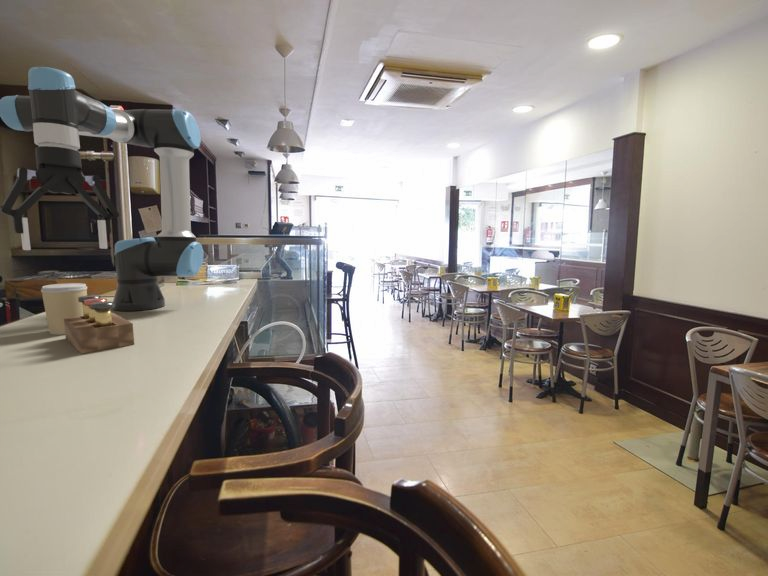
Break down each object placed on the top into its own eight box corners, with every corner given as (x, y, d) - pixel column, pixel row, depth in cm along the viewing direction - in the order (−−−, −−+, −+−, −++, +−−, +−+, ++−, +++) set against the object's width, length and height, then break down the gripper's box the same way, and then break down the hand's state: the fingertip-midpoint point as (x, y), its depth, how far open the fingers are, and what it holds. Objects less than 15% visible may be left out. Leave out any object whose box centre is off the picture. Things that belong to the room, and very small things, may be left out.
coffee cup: (99, 327, 109) (95, 283, 107) (69, 336, 99) (64, 288, 98) (68, 326, 109) (63, 282, 108) (35, 334, 100) (30, 287, 99)
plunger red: (106, 323, 98) (104, 297, 97) (111, 327, 95) (109, 299, 94) (84, 326, 95) (81, 299, 94) (88, 330, 92) (86, 302, 91)
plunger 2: (113, 328, 94) (110, 300, 93) (118, 331, 91) (116, 303, 90) (90, 331, 90) (87, 303, 90) (95, 335, 88) (92, 305, 87)
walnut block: (114, 331, 104) (112, 312, 104) (134, 344, 93) (132, 323, 92) (65, 338, 97) (63, 318, 97) (81, 353, 86) (79, 330, 85)
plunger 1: (100, 320, 102) (97, 294, 101) (104, 322, 99) (102, 296, 98) (78, 322, 99) (76, 296, 98) (82, 325, 96) (80, 298, 95)
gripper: (118, 159, 97) (124, 247, 100) (-29, 139, 77) (-16, 250, 80) (130, 156, 92) (137, 248, 95) (-22, 134, 73) (-8, 251, 76)
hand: (67, 249), depth 88 cm, fingers open, 13 cm apart
